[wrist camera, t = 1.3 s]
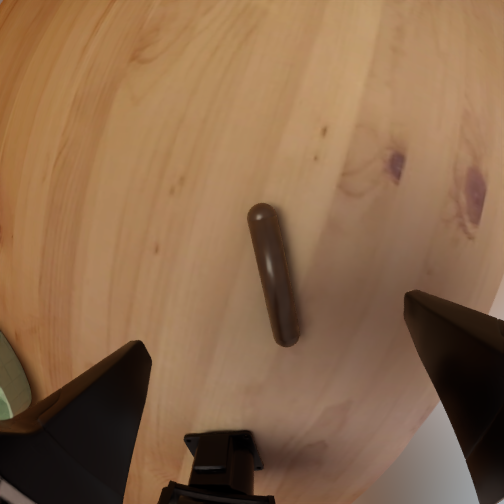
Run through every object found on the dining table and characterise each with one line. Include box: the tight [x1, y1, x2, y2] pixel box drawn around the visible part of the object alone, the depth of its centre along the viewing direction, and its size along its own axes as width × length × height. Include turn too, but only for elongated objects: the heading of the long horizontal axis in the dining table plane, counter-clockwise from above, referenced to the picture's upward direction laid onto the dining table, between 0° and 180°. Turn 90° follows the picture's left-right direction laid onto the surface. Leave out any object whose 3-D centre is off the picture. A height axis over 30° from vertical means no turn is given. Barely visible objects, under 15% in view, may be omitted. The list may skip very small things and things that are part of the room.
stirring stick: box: [247, 203, 300, 347], centre depth 18 cm, size 10×2×2 cm, turn 13°
